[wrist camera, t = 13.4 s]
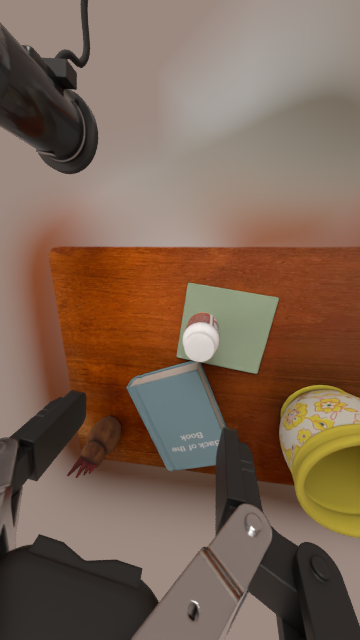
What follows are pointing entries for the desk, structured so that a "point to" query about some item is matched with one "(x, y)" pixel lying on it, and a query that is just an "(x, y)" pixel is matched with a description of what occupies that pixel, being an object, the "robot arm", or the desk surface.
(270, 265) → the desk surface
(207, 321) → the pill bottle
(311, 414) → the flowerpot
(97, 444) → the wooden figurine
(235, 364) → the mat
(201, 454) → the book
